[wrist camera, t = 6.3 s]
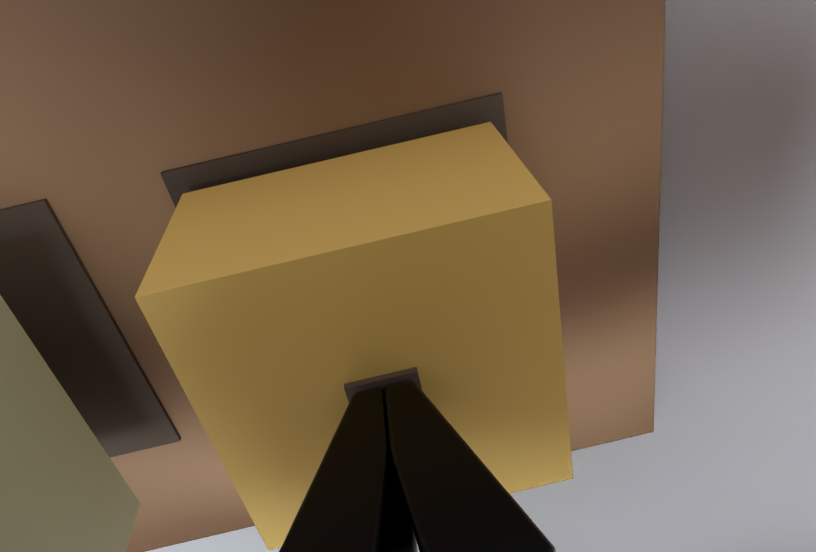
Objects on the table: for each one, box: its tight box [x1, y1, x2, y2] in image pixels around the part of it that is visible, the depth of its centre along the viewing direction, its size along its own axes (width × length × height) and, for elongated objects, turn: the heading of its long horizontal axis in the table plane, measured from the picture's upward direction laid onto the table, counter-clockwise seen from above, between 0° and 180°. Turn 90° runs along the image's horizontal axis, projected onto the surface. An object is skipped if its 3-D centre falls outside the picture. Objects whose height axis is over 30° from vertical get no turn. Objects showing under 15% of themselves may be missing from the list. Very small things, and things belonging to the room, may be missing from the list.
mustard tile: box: [135, 122, 573, 550], centre depth 10 cm, size 5×5×3 cm
